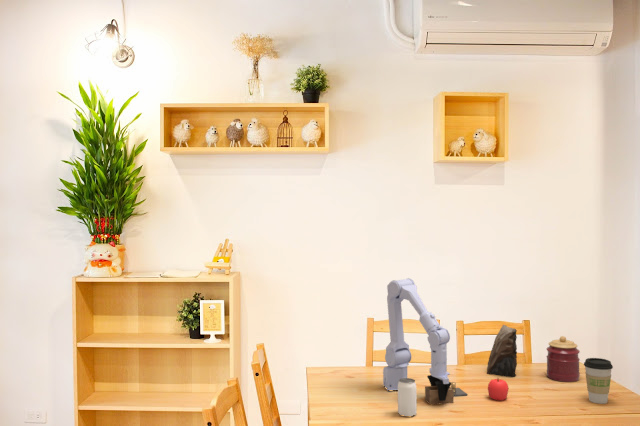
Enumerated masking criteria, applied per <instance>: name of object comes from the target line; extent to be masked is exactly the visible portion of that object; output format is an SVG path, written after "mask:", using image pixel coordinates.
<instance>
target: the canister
mask: <svg viewBox="0 0 640 426" xmlns="http://www.w3.org/2000/svg"><path fill="white" fill-rule="evenodd" d="M546 351H547V355H546V376H547V378H548V379H551V380H552V381H556V382H557V381H558V382H565V383H566V382H567V383H573V382H577V381H579V380H580V376H581V375H580V374H581V373H580V361H581V360H580V357H579V354H580V353H581V352H580V350H579V349H578V344H577V343H575V342H574V341H573V340H568V339H567V337H566V336H564V335H560V337H559V339H552V341H550V342H548V347H547V348H546Z"/></svg>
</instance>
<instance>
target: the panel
mask: <svg viewBox="0 0 640 426" xmlns="http://www.w3.org/2000/svg"><path fill="white" fill-rule="evenodd" d="M450 382H451V381H450ZM450 387H451V388H452V389H453V398H454V397H466V396H468V393H467V392H465V390H462V389H461V388H460V387H457V385H456V382H455V381H452V382H451V386H450Z"/></svg>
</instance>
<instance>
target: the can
mask: <svg viewBox="0 0 640 426" xmlns="http://www.w3.org/2000/svg"><path fill="white" fill-rule="evenodd" d="M398 413H399V414H400V415H404V416H413V415H415V416H417V383H416V380H415V379H414V378H412V377H411V378H410V377H407V378H402V379H399V383H398V391H397V414H398ZM399 414H398V415H399ZM400 415H399V416H400ZM413 417H414V416H413Z"/></svg>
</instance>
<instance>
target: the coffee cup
mask: <svg viewBox="0 0 640 426" xmlns="http://www.w3.org/2000/svg"><path fill="white" fill-rule="evenodd" d="M583 366H584V369H585V378H586V380H585V381H586V387H587V389H586V390H587V393H588V400H589V402H590V403H594V404H602V405H603V404H607V403H608V400H609V393H610V388H611V378H612V369H614V366H613V365H612V362H611V361H610V360H609V359H605V358H601V357H600V358H598V357H588V358H586V359H585V361H584V363H583Z"/></svg>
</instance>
